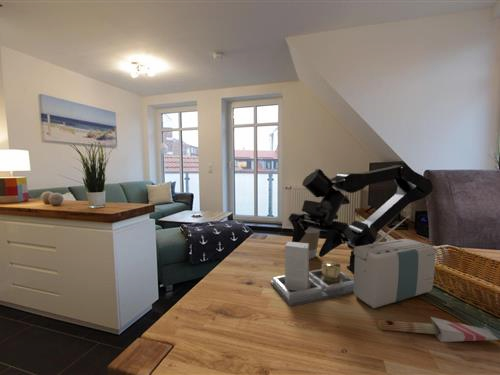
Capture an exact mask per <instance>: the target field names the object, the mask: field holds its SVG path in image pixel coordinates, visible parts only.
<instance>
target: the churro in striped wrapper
mask: <svg viewBox="0 0 500 375" xmlns="http://www.w3.org/2000/svg"><path fill="white" fill-rule="evenodd" d="M430 320H431V322H432V323H425V322H424V323H423V322H413V321H402V320H401V321H400V320H386V319H378V320H377V324H378V325H377V326H378V329H379V330H381V331H382V330H383V331H392V332H393V331H394V332H404V333H417V334H418V333H419V334H420V333H421V334H430V335H435V336H436V339H438V341H440V342H443V343H450V342H451V343H452V342H470V341H471V342H472V341H474V342H476V341H497V340H498V341H499V338H498V337H497V336H496V335H495V334H493V332H491V331H490V330H489V329H487V328H482V327H479V326H473V325H468V324H464V323H460V322H456V321H455V322H454V321H451V320H446V319H442V318H438V317H433V316H430Z"/></svg>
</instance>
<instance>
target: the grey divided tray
mask: <svg viewBox="0 0 500 375" xmlns="http://www.w3.org/2000/svg"><path fill="white" fill-rule="evenodd" d="M269 283H270V285H271V286H272V287H273V288H274V290H276V292H277V293H278V294H279V295H280V297H282V299H283V300H284V301H285V302H286V303H287V304H288V305H289V307H296V306H299V305H304V304H308V303H312V302H317V301H323V300H327V299H331V298H336V297H340V296H345V295H349V294H350V295H351V294H354V278H352V277H351V276H348V274H345V273H344V272H342V271H341V264H340V263H338V262H336V261H334V260H333V261H332V260H324V261H322V262H321V268H320V269H314V270H309V287H308V289H306V290H301V291H294V290H288V289H287V288H286V287H285V274H283V275H279V276H274V277H272V280H270V282H269Z"/></svg>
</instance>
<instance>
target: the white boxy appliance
mask: <svg viewBox="0 0 500 375" xmlns="http://www.w3.org/2000/svg"><path fill="white" fill-rule="evenodd" d="M410 217H411V216H410V215H407V216H406V218H404V219H403V220H401V221H400V222H398V223H397V224H396V225H395V226H393V227H392V228H391V229H389V230H388V231H387V232H386V233H385V234H383V235H382V236H381V237H379V238H378V239H376V241H375V242H374V243H373V244H369V245H363V246H357V247H354V249H353V250H352V251H354V255H355V267H354V272H353V273H354V274H353V279H354V293H353V294H354V295H355V296H356V297H357V298H359V300H361V301H362V302H363V303H365V304H367V305H368V306H370V307H371V308H372V309H376V308H379V307H383V306H387V305H389V304H393V303H396V302H400V301H403V300H406V299H409V298H413V297H416V296H419V295H422V294H426V293H429V292H431V291H432V289H433V286H434V281H435V280H434V278H435V270H436V269H435V266H436V249H435V247H434V246H433V245H430V244H428V243H424V242H420V241H418V240H413V239H410V238H400V239H394V240H389V241H388V240H387V241H382V240H383V239H384V238H386V237H387V236H388V235H389V234H390V233H392V232H393V231H394V230H395V229H396V228H398V227H399V226H400V225H401V224H402V223H403V222H405V220H406V219H408V218H410ZM380 241H382V242H380Z"/></svg>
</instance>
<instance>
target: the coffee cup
mask: <svg viewBox="0 0 500 375" xmlns="http://www.w3.org/2000/svg"><path fill="white" fill-rule="evenodd" d="M300 214H301V215H303V216H304V217H305V219H306V220H309V221H311V218H309V217H308V216H307V215H308V213H300ZM305 232H306V234H305V235H304V236H303V238H302V239H301V240H300V242H299V243H309V260H312V259H311V258H313V259H315V258H316V255H317V252H318V246H319V245H318V244H319V238H320V233H321V230H319V229H315V228H310V227H308V229H307V230H306V231H305ZM314 257H315V258H314Z"/></svg>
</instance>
